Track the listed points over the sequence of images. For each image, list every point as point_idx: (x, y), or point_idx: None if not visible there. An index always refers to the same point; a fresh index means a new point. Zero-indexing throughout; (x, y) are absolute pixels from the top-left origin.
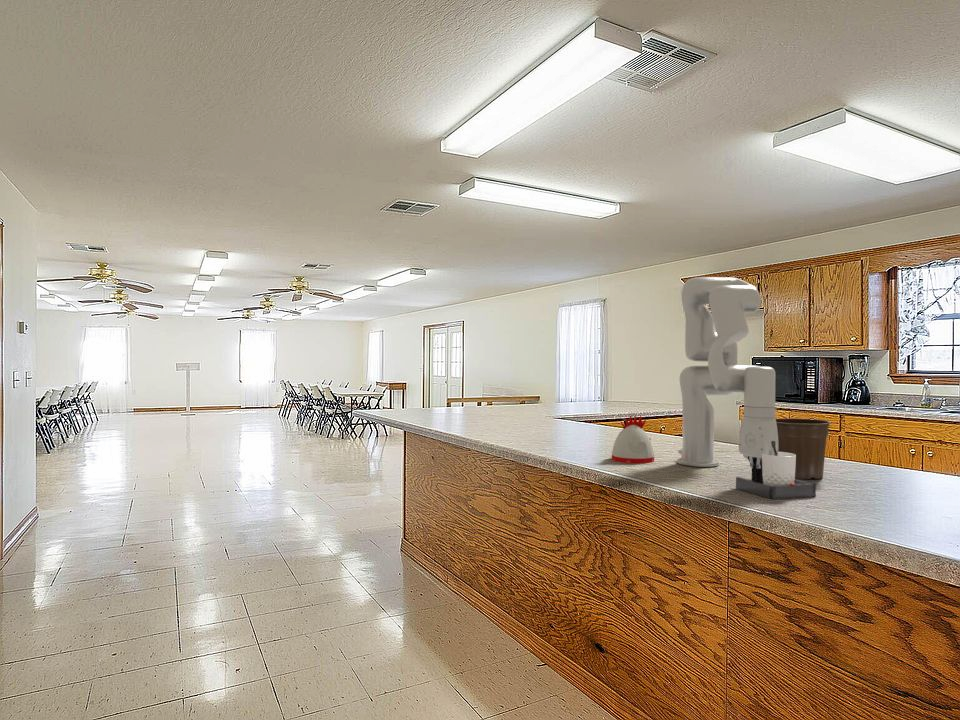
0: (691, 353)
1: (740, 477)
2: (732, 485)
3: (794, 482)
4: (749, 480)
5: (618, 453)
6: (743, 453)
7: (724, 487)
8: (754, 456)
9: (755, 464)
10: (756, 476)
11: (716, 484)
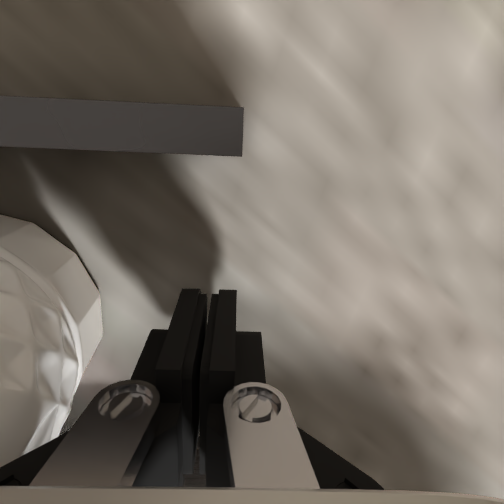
0: None
1: (208, 145)
2: (363, 182)
3: None
4: (17, 113)
5: None
6: (406, 495)
7: (324, 39)
8: (10, 487)
9: (217, 442)
10: (173, 324)
11: (460, 66)
